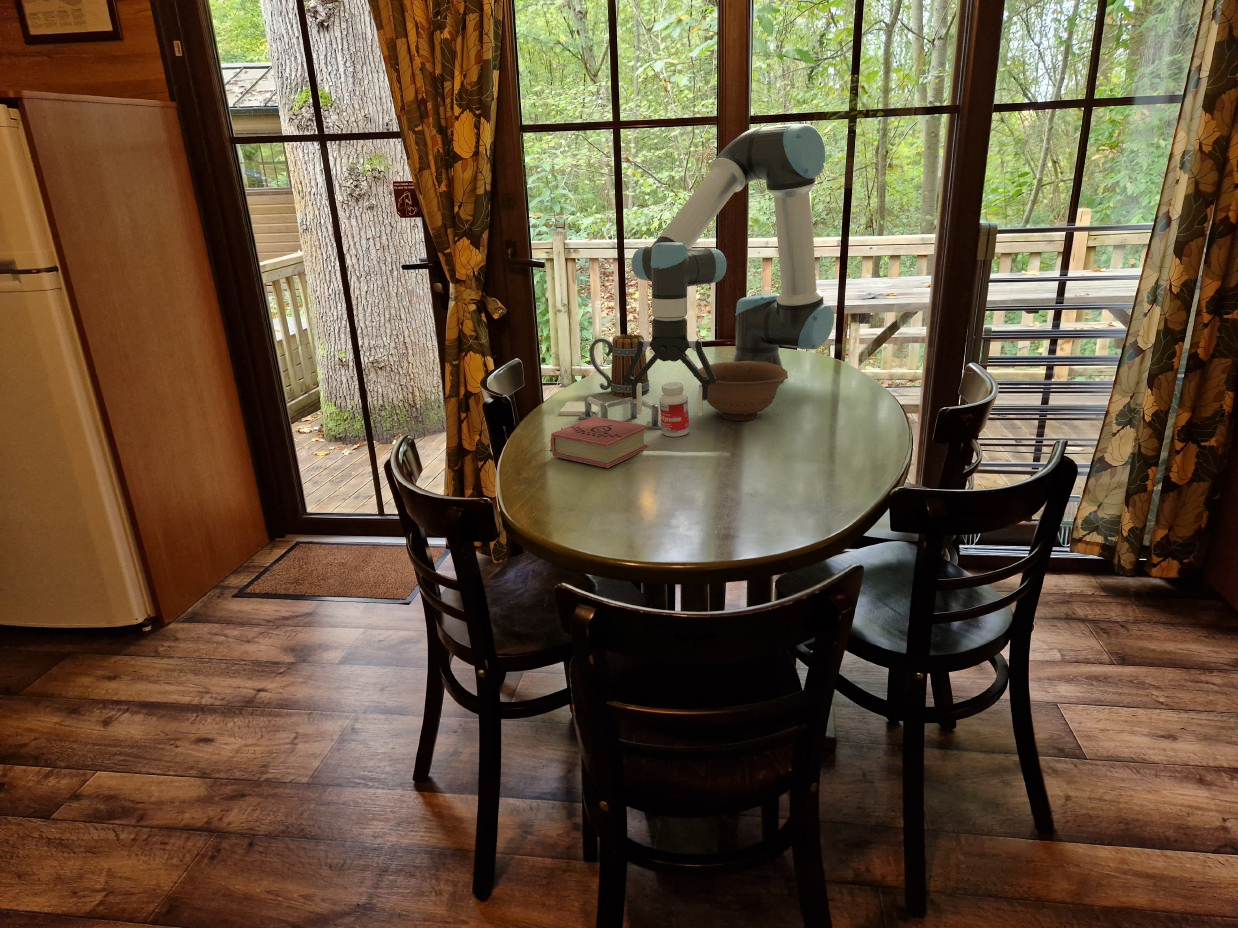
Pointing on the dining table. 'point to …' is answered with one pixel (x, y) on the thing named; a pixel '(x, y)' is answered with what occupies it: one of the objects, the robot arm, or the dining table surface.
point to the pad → (577, 408)
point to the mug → (621, 364)
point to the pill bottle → (674, 410)
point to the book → (599, 441)
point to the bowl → (743, 388)
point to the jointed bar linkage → (633, 404)
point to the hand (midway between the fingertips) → (669, 413)
